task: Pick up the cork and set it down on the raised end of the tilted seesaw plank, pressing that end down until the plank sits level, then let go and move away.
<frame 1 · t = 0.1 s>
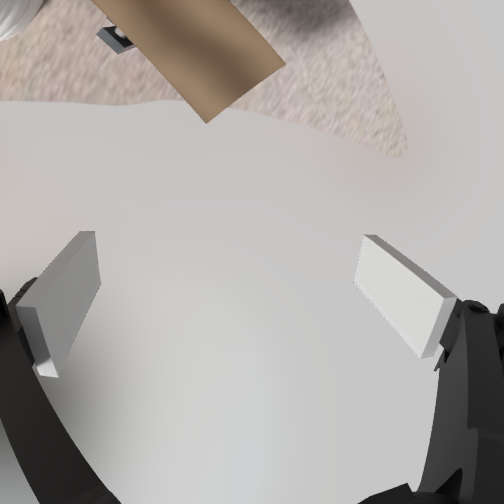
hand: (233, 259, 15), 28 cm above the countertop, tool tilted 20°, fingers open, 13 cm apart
seesaw stand: (169, 3, 26), on the countertop
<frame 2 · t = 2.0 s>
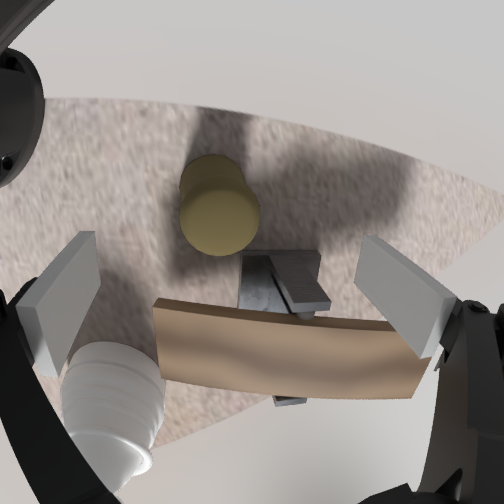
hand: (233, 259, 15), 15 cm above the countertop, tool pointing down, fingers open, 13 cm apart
seesaw stand: (274, 300, 35), on the countertop
seesaw plank: (297, 356, 26), point 9 cm above the countertop, hinge at 15.0°
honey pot: (116, 378, 36), on the countertop
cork: (212, 186, 29), on the countertop
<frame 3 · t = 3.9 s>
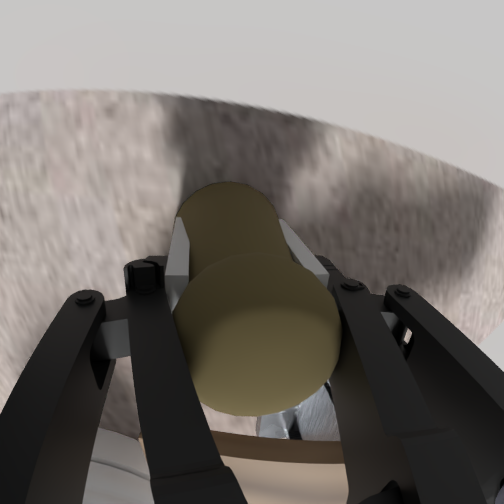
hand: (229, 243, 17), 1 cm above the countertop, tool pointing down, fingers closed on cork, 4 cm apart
seesaw stand: (311, 382, 24), on the countertop
seesaw plank: (352, 479, 15), point 9 cm above the countertop, hinge at 15.0°
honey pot: (105, 459, 25), on the countertop
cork: (226, 234, 18), on the countertop, touching gripper
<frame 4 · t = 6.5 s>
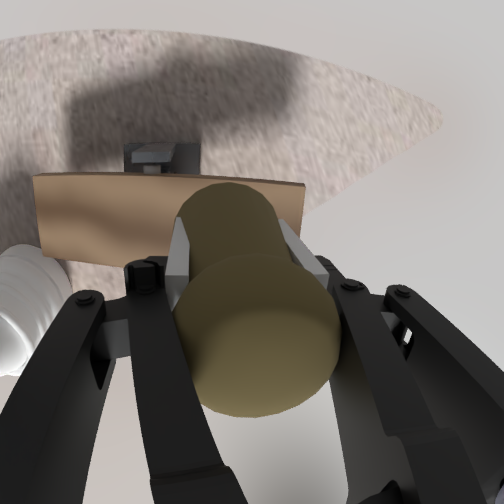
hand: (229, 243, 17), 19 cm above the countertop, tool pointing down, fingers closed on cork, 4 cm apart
seesaw stand: (162, 195, 34), on the countertop
seesaw plank: (150, 221, 26), point 9 cm above the countertop, hinge at 15.0°
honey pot: (32, 287, 36), on the countertop
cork: (226, 234, 18), point 18 cm above the countertop, touching gripper
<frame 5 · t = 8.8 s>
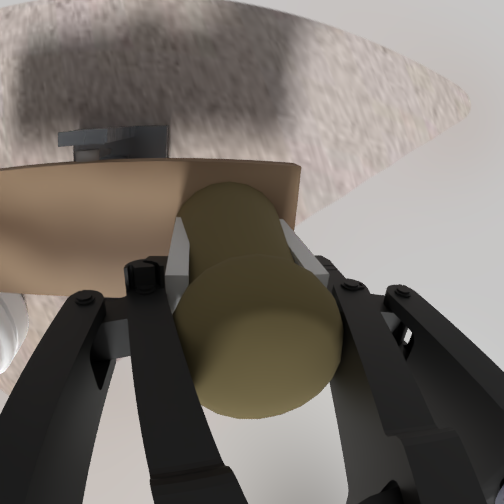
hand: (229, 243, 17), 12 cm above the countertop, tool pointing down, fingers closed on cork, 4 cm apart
seesaw stand: (121, 193, 26), on the countertop
seesaw plank: (89, 228, 17), point 9 cm above the countertop, hinge at 0.1°, touching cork
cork: (227, 234, 18), point 10 cm above the countertop, touching gripper, seesaw plank
when the fingers open (12 cm above the countertop, at t = 9.1 s): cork stays where it is, resting on seesaw plank.
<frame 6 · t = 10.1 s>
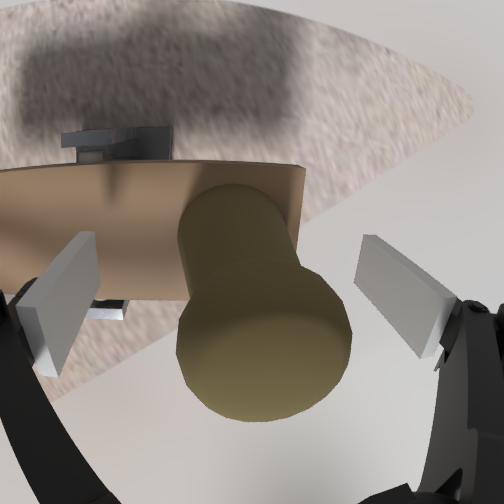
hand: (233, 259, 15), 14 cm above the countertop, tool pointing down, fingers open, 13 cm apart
seesaw stand: (124, 195, 26), on the countertop
seesaw plank: (92, 230, 17), point 9 cm above the countertop, hinge at 0.1°, touching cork
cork: (231, 236, 18), point 10 cm above the countertop, touching seesaw plank
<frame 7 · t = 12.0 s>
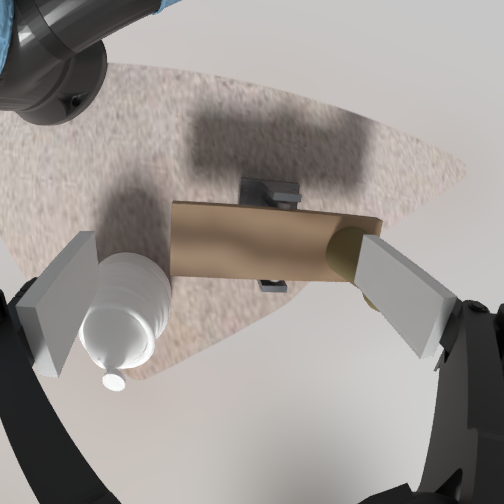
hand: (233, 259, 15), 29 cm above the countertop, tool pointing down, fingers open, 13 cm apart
seesaw stand: (264, 221, 45), on the countertop
seesaw plank: (279, 243, 36), point 9 cm above the countertop, hinge at 0.1°, touching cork
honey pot: (130, 291, 46), on the countertop
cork: (348, 250, 37), point 10 cm above the countertop, touching seesaw plank
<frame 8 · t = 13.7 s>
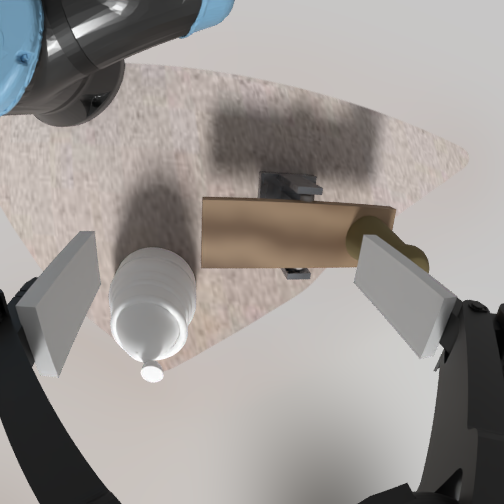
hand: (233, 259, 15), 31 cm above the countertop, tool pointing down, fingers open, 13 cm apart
seesaw stand: (283, 212, 47), on the countertop
seesaw plank: (303, 233, 39), point 9 cm above the countertop, hinge at 0.1°, touching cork
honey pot: (155, 285, 49), on the countertop
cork: (365, 237, 39), point 10 cm above the countertop, touching seesaw plank
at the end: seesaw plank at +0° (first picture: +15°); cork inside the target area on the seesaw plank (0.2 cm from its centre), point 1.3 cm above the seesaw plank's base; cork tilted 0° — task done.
